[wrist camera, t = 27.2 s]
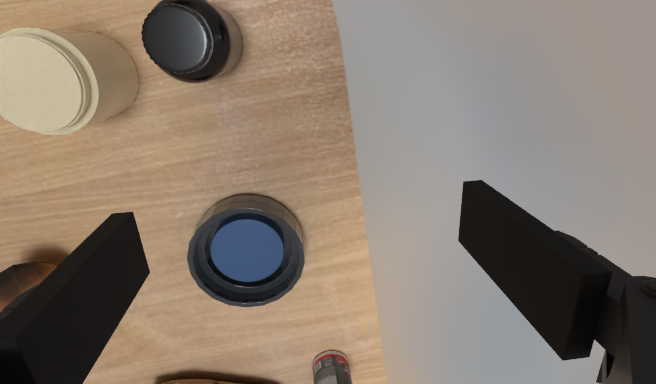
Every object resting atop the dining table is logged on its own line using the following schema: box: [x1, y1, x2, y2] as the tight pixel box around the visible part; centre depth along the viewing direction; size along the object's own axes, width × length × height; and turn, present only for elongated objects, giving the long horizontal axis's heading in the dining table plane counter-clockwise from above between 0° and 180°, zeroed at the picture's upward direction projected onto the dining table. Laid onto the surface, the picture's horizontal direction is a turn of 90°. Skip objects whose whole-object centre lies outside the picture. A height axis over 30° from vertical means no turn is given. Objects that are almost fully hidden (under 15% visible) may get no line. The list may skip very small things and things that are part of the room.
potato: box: [0, 262, 57, 312], centre depth 43 cm, size 8×13×8 cm
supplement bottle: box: [141, 0, 243, 83], centre depth 32 cm, size 7×7×12 cm
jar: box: [0, 27, 139, 135], centre depth 33 cm, size 8×8×10 cm
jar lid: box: [211, 213, 284, 282], centre depth 45 cm, size 9×9×2 cm
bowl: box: [187, 195, 304, 307], centre depth 45 cm, size 13×13×4 cm
